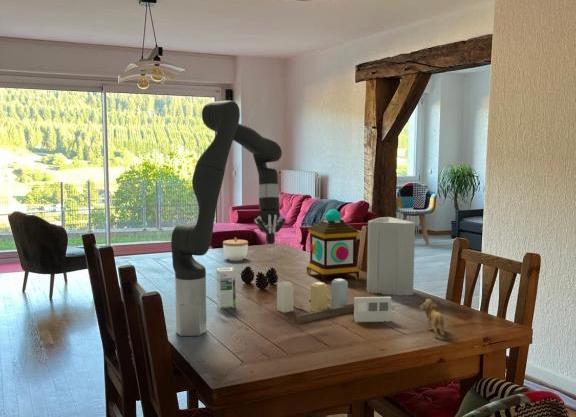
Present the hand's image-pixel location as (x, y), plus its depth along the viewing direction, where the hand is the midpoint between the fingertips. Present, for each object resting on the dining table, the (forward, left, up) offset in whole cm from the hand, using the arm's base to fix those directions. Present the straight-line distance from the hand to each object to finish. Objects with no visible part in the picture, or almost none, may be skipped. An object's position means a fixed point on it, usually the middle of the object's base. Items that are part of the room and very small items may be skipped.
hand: (270, 244), depth 206 cm
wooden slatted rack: (-17, -14, -21) cm, 30 cm away
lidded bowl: (+77, +14, -21) cm, 82 cm away
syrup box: (-11, +16, -21) cm, 29 cm away
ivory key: (-18, -4, -20) cm, 27 cm away
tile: (-28, -32, -21) cm, 47 cm away
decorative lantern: (+36, -29, -21) cm, 51 cm away
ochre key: (-19, -15, -20) cm, 32 cm away
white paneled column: (+11, -46, -21) cm, 52 cm away
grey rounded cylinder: (-15, -23, -20) cm, 34 cm away
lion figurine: (-39, -49, -21) cm, 66 cm away
